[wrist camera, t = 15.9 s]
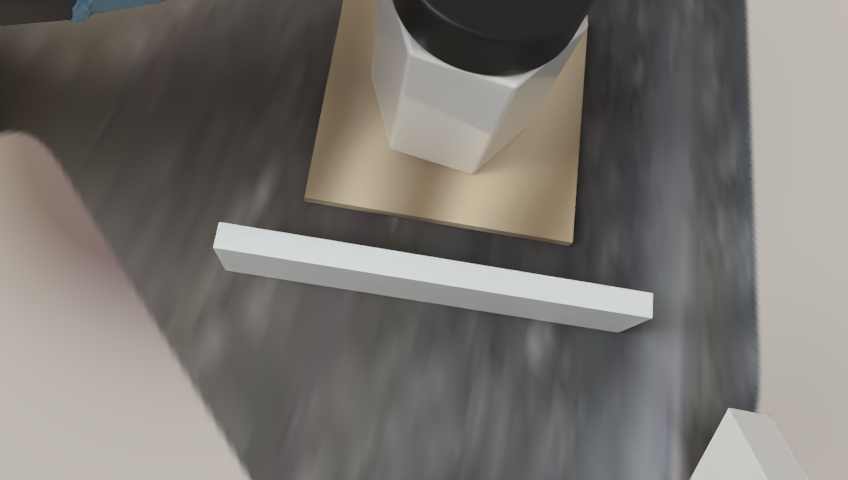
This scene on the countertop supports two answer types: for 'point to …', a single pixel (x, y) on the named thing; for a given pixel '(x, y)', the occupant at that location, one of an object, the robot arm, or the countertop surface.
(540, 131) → the oak board
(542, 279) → the acrylic wall
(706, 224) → the countertop surface
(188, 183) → the countertop surface
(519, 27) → the jar
